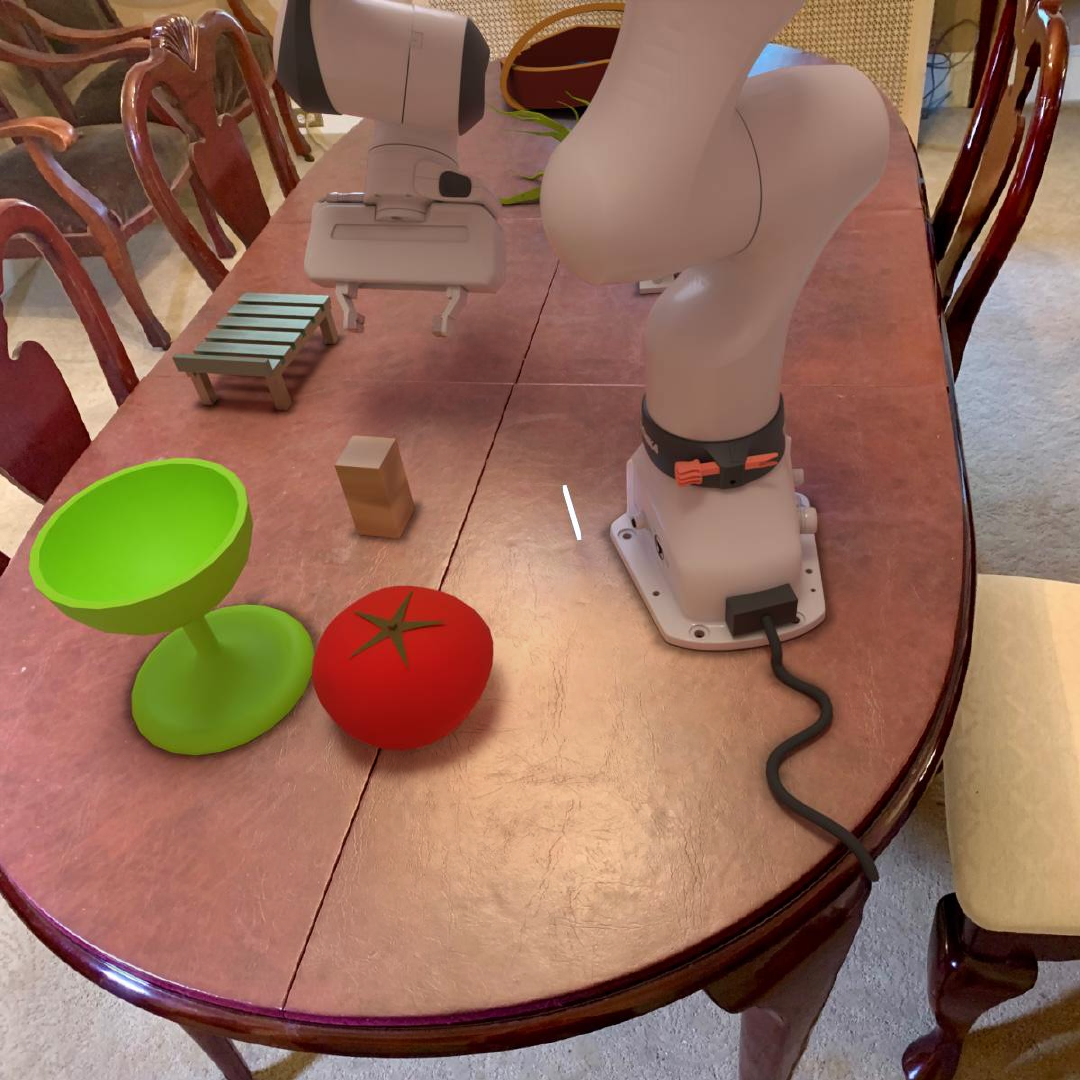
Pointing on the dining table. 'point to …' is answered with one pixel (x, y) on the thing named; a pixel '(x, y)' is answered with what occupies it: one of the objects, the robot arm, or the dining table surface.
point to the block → (375, 486)
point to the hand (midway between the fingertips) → (396, 334)
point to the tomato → (403, 666)
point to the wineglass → (176, 600)
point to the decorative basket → (559, 62)
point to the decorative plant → (547, 122)
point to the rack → (258, 341)
